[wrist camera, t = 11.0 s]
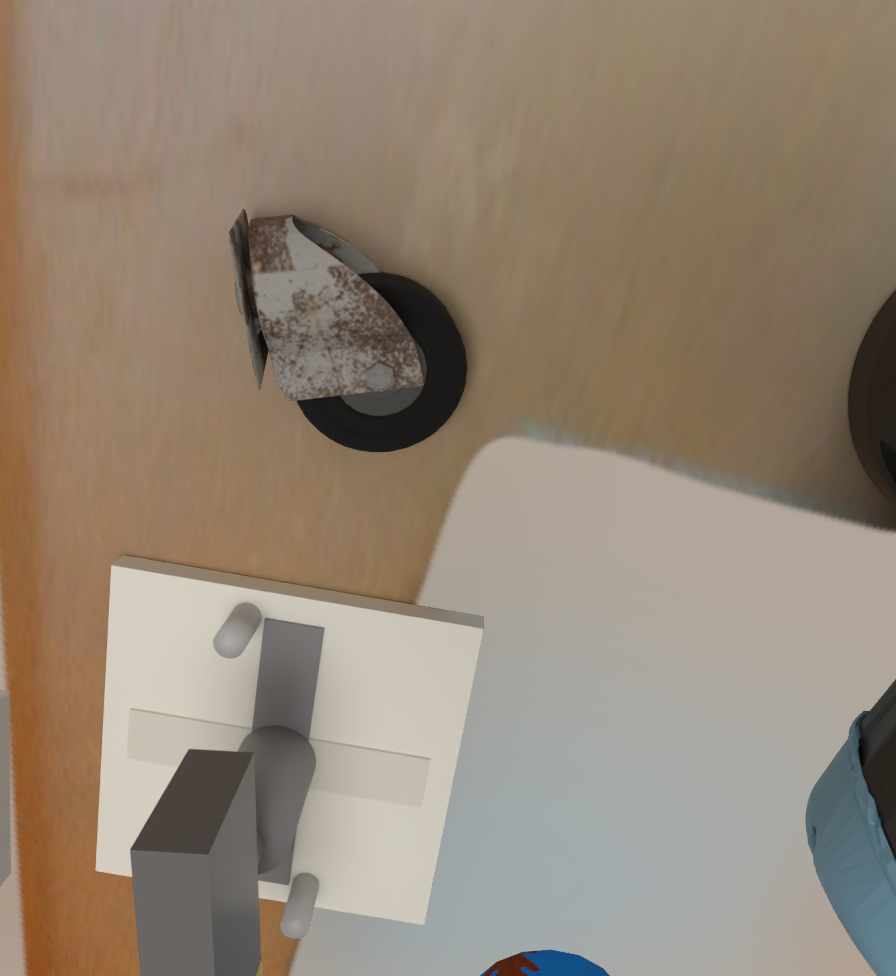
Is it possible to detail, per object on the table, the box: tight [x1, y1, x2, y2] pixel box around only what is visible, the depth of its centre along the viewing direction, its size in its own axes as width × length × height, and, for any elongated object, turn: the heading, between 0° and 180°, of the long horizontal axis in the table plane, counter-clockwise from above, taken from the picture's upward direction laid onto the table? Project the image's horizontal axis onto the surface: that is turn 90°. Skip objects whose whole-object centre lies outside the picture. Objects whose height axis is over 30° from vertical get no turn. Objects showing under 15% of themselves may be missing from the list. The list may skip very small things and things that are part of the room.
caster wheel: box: [229, 208, 467, 452], centre depth 37 cm, size 7×11×10 cm
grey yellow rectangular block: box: [130, 749, 264, 976], centre depth 34 cm, size 14×3×9 cm, turn 178°
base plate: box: [96, 555, 484, 939], centre depth 42 cm, size 20×20×8 cm
